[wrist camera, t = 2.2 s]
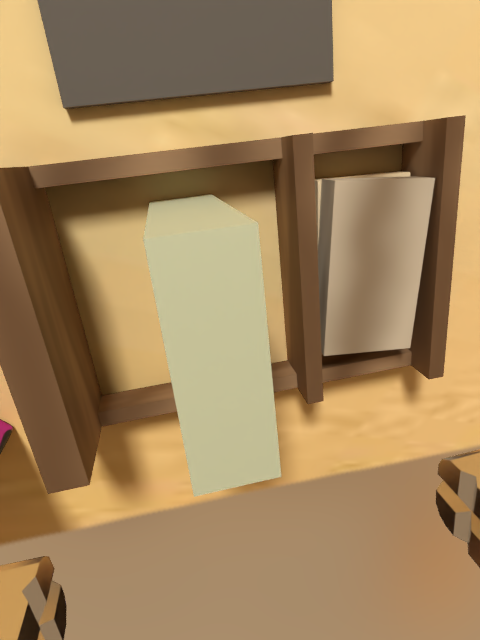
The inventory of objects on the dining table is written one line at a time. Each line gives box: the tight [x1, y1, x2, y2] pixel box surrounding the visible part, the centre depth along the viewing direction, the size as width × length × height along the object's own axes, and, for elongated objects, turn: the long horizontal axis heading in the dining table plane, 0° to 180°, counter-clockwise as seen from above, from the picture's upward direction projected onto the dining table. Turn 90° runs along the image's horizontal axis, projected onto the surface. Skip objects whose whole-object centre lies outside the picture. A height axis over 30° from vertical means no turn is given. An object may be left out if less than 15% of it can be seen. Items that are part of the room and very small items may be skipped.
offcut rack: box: [0, 116, 465, 494], centre depth 23 cm, size 24×15×7 cm, turn 96°
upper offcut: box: [318, 176, 435, 356], centre depth 24 cm, size 6×10×2 cm, turn 1°
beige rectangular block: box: [143, 194, 281, 497], centre depth 20 cm, size 4×10×12 cm, turn 6°
